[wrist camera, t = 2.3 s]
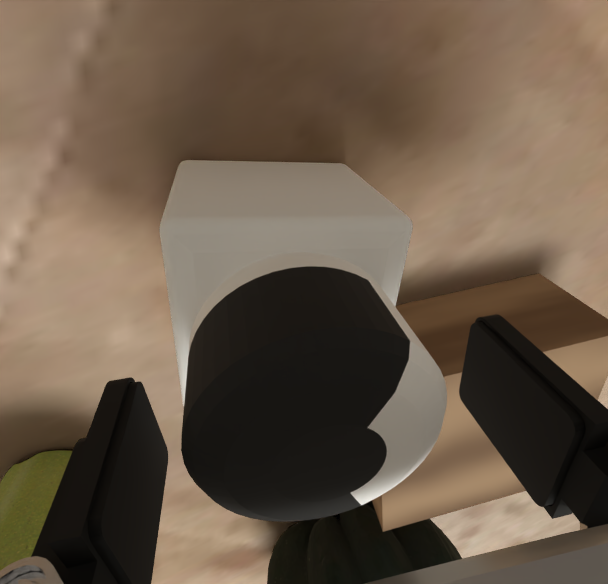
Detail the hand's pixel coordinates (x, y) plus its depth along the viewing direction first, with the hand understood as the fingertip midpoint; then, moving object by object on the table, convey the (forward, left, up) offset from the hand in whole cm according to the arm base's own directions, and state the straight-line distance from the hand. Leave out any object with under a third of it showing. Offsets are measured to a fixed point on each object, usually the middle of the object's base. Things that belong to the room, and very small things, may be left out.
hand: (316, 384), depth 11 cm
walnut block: (+10, +10, -9) cm, 17 cm away
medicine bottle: (-1, 0, -9) cm, 9 cm away
